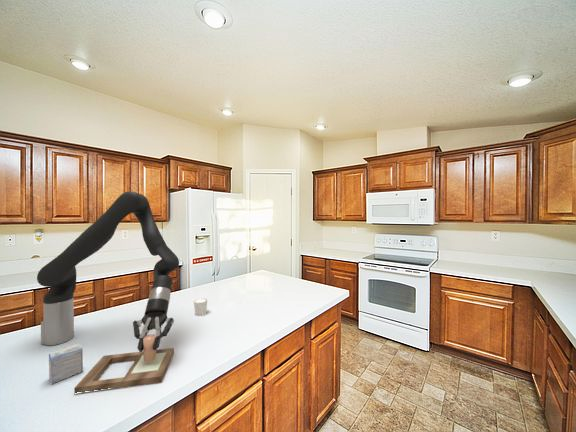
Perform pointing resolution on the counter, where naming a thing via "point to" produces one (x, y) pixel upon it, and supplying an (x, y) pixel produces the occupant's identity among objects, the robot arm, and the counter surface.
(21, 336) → the counter surface
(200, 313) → the white candle
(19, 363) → the counter surface
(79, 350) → the medicine box
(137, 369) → the hole board
